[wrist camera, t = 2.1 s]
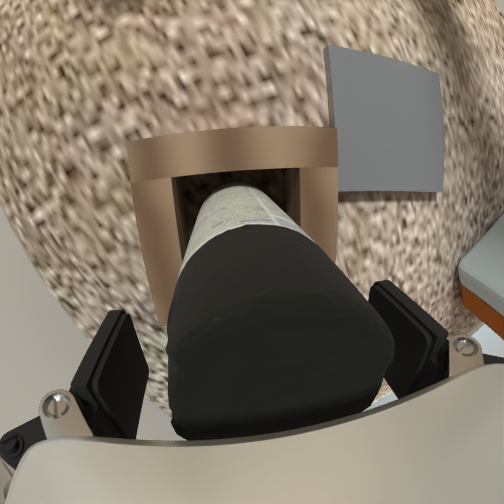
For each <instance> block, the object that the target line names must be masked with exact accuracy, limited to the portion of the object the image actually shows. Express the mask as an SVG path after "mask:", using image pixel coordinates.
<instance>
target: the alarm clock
mask: <svg viewBox="0 0 504 504" xmlns="http://www.w3.org/2000/svg"><path fill="white" fill-rule="evenodd" d="M458 273H459V280H460V287H461V295H462V302H463V304H464V306H465V307H466V308H467V309H469V310H470V311H471V312H472V313H473V314H474V315H476V316H477V317H478V318H479V319H480V320H482V321H483V322H484V323H485V324H486V325H488V326H489V327H490V328H491V329H492V330H493V331H494V332H495V333H496V334H498V335H499V336H500V337H501V338H502V339H503V340H504V212H503V214H502V215H501V216H500V217H499V219H498V220H497V221H496V222H495V223H494V224H493V226H492V227H491V228H490V229H489V230H488V231H487V232H486V233H485V235H484V236H483V237H482V238H481V239H480V240H479V241H478V242H477V243H476V244H475V245H474V246H473V247H472V248H471V250H470V251H469V252H468V253H467V254H466V255H465V256H464V257H463V258H462V259H461V260H460V262H459V265H458Z"/></svg>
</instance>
